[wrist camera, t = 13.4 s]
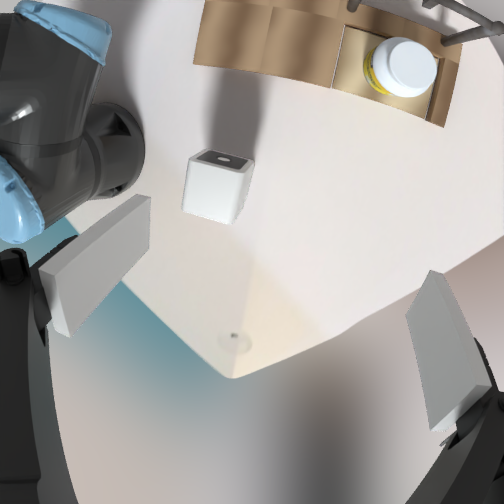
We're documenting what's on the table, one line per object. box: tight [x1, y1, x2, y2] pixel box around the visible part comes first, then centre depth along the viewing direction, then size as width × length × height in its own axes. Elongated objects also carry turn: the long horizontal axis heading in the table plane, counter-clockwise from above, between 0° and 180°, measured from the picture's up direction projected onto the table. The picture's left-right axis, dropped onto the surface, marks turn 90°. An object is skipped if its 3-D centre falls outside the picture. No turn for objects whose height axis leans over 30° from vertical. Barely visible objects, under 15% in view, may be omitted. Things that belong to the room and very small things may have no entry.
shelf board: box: [193, 0, 504, 128], centre depth 24 cm, size 32×12×16 cm, turn 80°
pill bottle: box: [363, 37, 437, 97], centre depth 26 cm, size 6×6×12 cm
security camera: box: [181, 149, 254, 224], centre depth 38 cm, size 6×7×10 cm
